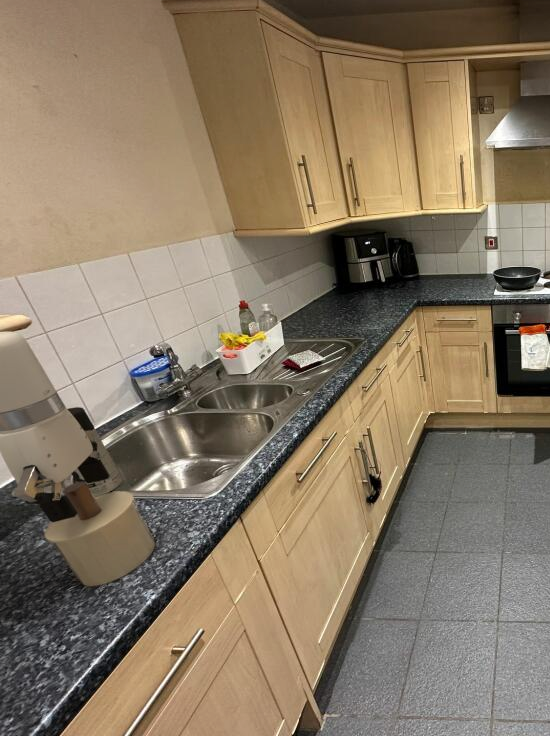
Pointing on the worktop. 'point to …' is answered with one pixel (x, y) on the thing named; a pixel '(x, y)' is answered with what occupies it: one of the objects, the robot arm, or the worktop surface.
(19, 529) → the worktop surface
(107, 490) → the spray can
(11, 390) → the robot arm
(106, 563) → the pot
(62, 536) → the pot lid
